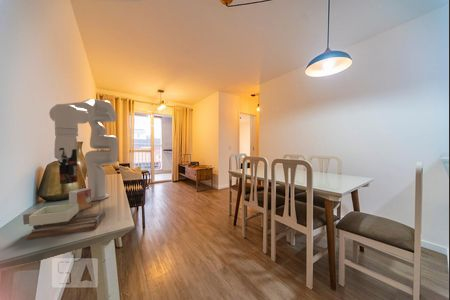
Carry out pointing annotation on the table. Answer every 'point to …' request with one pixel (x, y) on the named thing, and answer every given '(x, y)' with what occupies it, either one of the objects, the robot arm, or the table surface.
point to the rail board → (68, 226)
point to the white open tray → (51, 215)
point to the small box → (81, 198)
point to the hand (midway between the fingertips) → (68, 172)
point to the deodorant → (72, 176)
